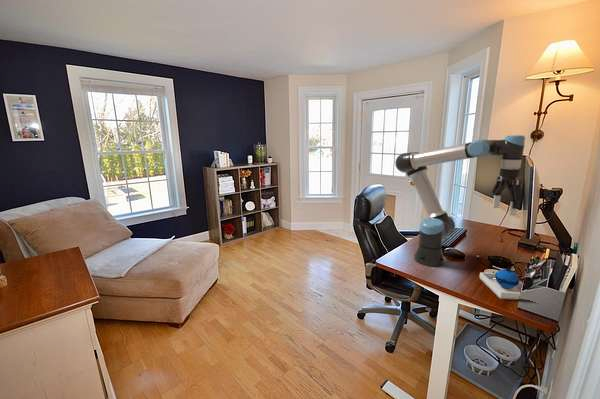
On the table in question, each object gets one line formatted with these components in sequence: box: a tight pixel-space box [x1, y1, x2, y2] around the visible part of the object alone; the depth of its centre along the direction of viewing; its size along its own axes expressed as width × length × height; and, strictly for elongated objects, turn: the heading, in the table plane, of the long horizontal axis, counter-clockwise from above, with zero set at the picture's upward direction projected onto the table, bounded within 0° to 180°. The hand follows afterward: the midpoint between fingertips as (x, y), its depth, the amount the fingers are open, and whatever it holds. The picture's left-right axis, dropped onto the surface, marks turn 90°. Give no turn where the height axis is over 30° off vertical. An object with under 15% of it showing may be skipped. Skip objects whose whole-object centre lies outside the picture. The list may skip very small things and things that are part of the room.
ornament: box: [495, 266, 520, 288], centre depth 119 cm, size 9×9×10 cm
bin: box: [478, 272, 524, 301], centre depth 120 cm, size 14×18×3 cm
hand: (503, 211), depth 130 cm, fingers open, 13 cm apart
